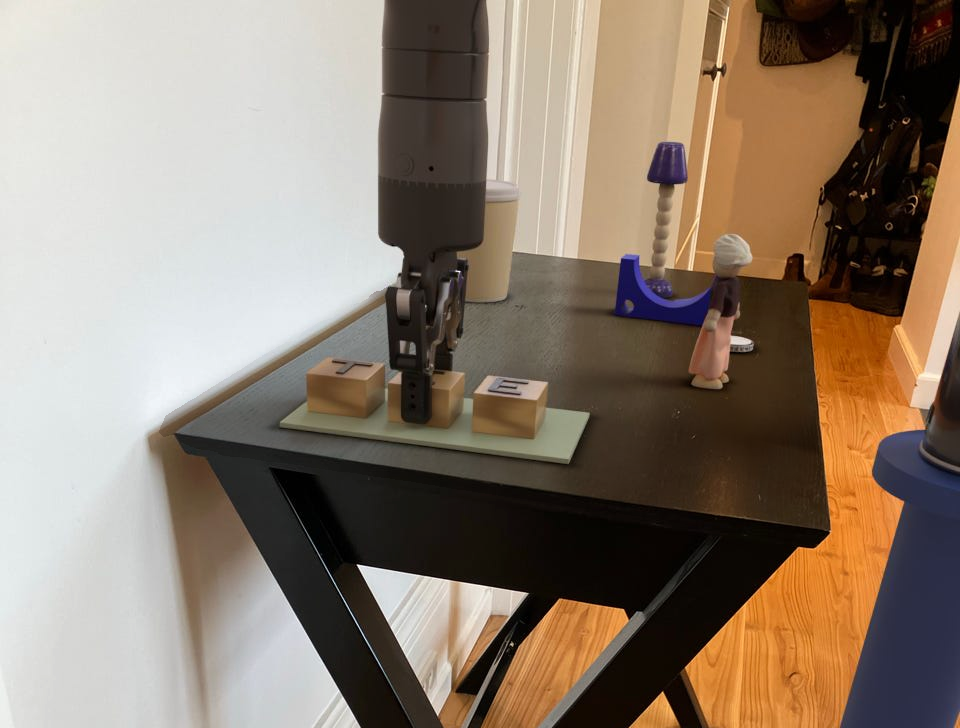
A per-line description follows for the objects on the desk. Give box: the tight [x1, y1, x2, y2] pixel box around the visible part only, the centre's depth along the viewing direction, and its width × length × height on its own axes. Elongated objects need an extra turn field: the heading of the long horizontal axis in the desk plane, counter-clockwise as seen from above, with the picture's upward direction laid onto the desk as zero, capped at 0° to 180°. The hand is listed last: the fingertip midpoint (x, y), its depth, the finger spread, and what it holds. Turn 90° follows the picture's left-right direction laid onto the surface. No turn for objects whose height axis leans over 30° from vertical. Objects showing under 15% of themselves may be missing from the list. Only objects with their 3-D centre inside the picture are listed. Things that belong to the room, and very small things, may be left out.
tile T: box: [305, 356, 386, 418], centre depth 78 cm, size 5×5×3 cm
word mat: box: [279, 388, 591, 465], centre depth 78 cm, size 22×11×1 cm, turn 77°
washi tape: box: [730, 335, 755, 353], centre depth 102 cm, size 4×4×1 cm
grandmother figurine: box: [688, 233, 753, 390], centre depth 87 cm, size 8×4×13 cm, turn 162°
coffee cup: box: [457, 178, 522, 304], centre depth 114 cm, size 9×9×12 cm
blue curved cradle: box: [614, 253, 718, 327], centre depth 111 cm, size 12×4×6 cm, turn 72°
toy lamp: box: [643, 141, 689, 299], centre depth 118 cm, size 5×5×17 cm
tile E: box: [472, 374, 549, 439], centre depth 76 cm, size 5×5×3 cm
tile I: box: [387, 369, 466, 429], centre depth 77 cm, size 5×5×3 cm
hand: (426, 409), depth 78 cm, fingers open, 5 cm apart
